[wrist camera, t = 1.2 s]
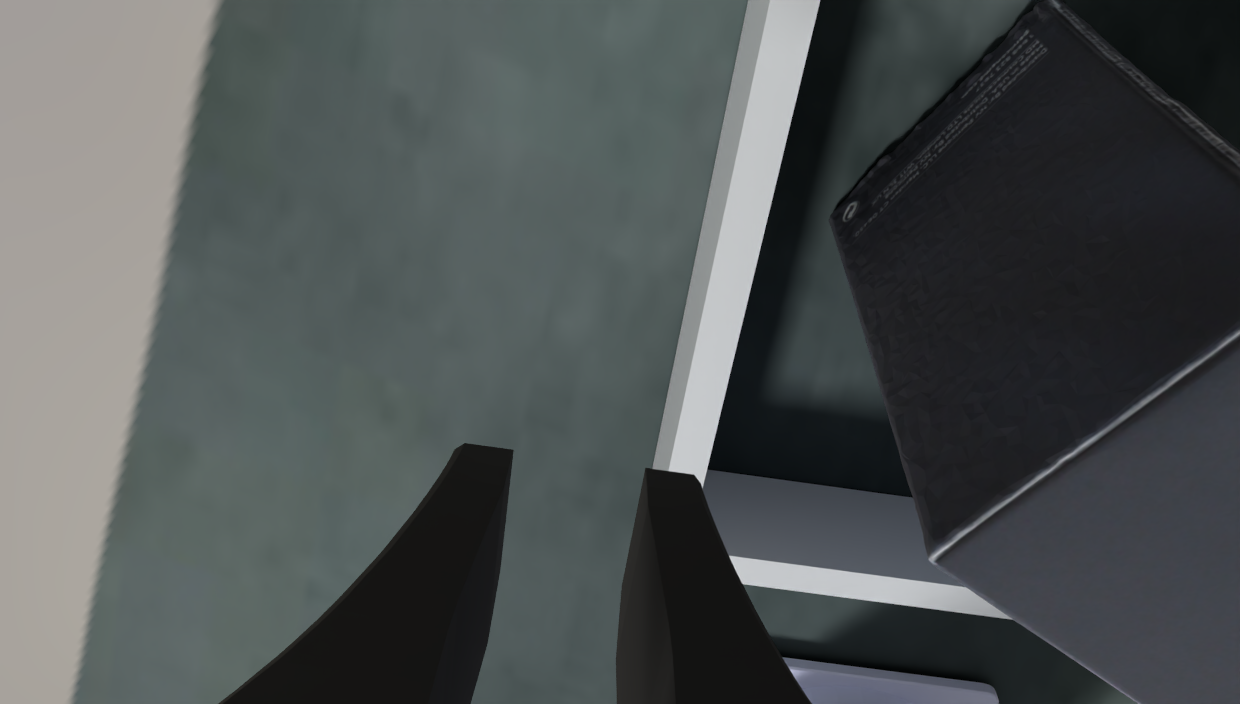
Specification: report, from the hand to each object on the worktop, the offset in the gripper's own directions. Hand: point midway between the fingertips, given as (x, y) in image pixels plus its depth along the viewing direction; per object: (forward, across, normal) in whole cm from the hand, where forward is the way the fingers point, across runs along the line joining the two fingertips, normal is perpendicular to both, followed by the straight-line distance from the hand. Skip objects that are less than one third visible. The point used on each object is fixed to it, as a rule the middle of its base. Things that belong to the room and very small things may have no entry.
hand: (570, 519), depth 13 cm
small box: (+11, -10, 0) cm, 15 cm away
